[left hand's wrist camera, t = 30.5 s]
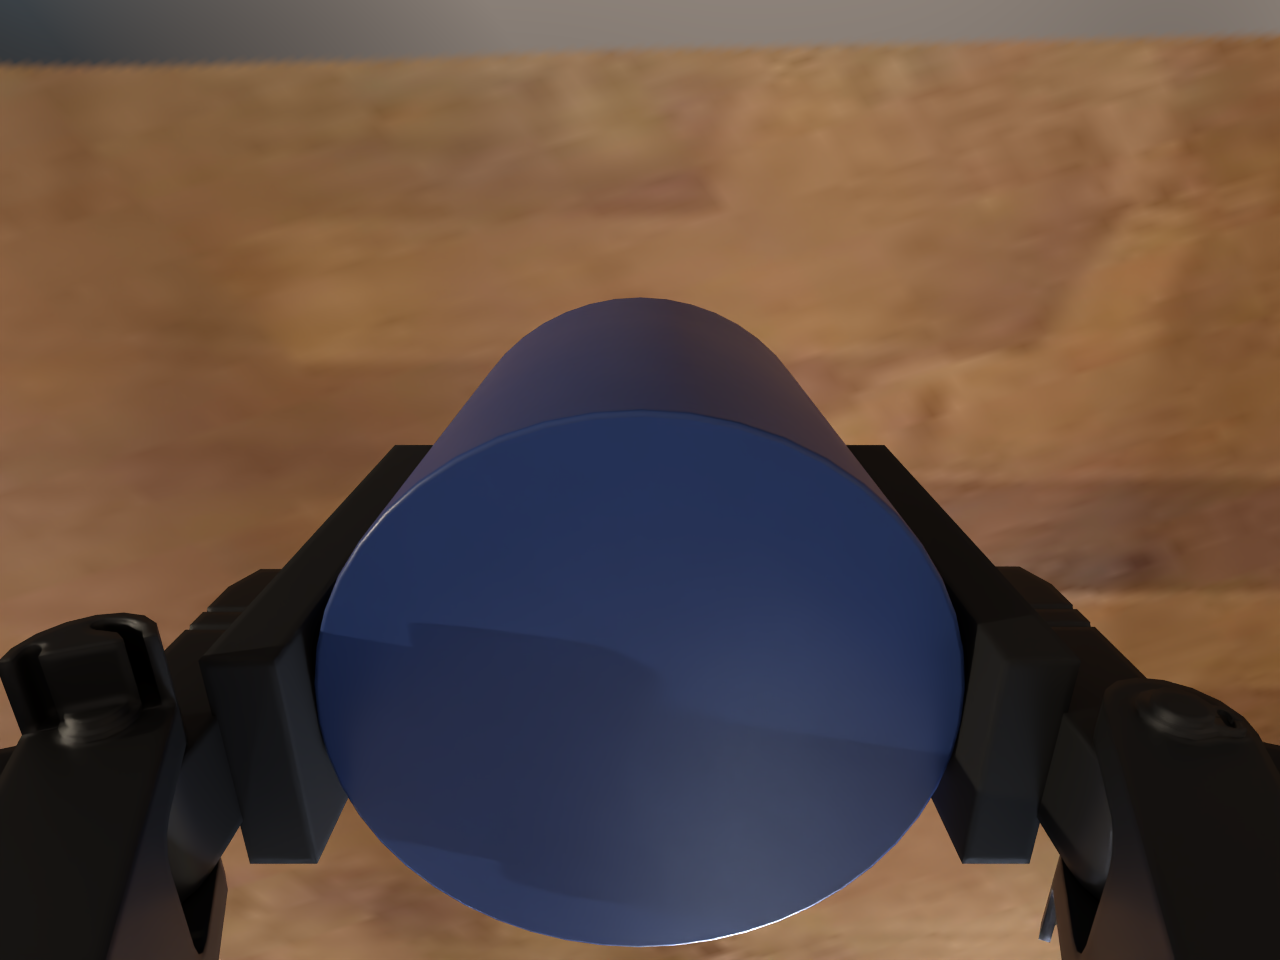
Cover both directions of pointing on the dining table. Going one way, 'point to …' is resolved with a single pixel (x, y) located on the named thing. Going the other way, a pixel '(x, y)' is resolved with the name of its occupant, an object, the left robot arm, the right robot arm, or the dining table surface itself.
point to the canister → (639, 643)
